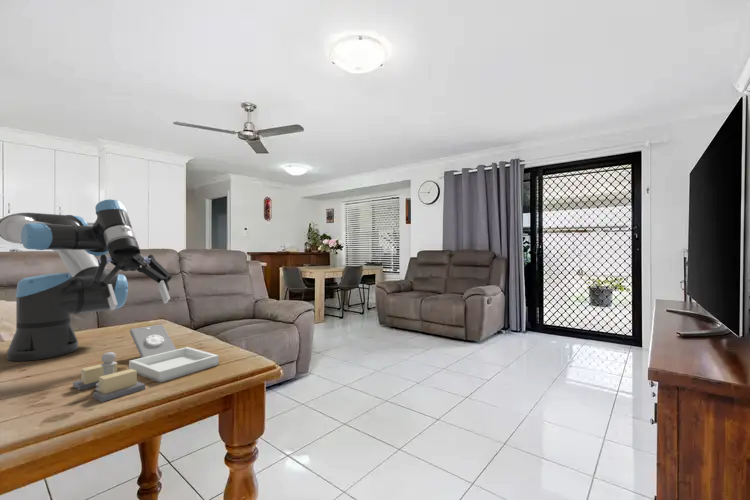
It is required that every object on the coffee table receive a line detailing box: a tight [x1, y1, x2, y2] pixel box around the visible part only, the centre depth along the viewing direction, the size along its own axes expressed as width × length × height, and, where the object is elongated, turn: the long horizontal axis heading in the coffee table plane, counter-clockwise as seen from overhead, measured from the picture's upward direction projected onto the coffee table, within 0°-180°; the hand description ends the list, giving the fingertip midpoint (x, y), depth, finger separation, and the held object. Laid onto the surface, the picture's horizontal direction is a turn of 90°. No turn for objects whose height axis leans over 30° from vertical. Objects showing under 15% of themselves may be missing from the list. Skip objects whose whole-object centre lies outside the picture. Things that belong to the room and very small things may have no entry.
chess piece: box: [94, 351, 118, 392], centre depth 77 cm, size 5×5×8 cm
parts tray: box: [128, 346, 220, 384], centre depth 90 cm, size 15×15×2 cm
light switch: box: [129, 324, 177, 358], centre depth 100 cm, size 8×6×14 cm
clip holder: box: [72, 362, 146, 403], centre depth 77 cm, size 15×8×4 cm, turn 58°
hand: (142, 304), depth 98 cm, fingers open, 13 cm apart
